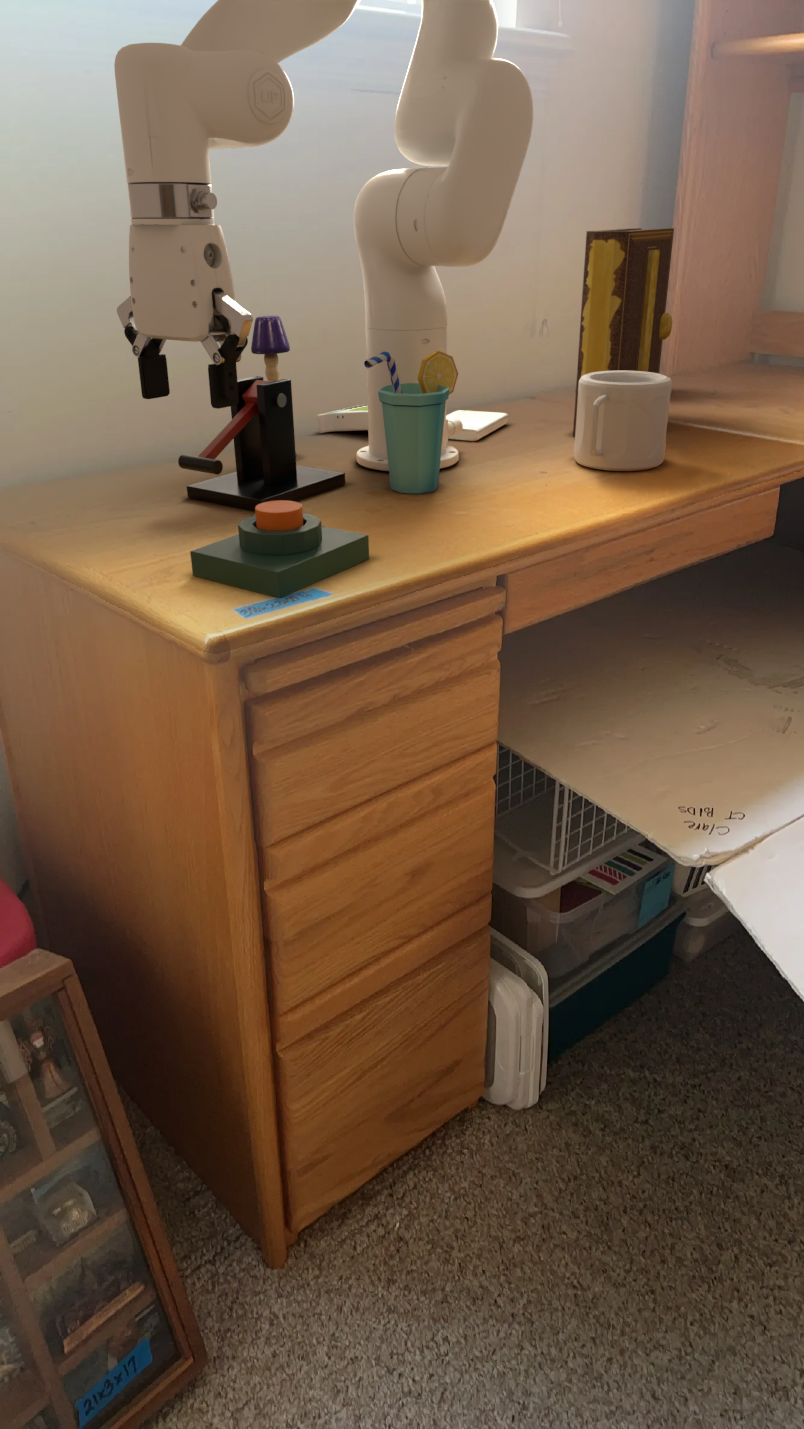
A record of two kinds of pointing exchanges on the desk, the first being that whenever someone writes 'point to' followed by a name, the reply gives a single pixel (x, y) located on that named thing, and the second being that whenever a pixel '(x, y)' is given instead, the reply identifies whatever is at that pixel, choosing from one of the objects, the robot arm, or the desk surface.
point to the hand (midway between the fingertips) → (190, 401)
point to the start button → (279, 515)
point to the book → (624, 301)
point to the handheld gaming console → (344, 420)
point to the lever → (223, 436)
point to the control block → (279, 556)
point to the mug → (622, 420)
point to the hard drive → (477, 423)
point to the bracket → (266, 456)
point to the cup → (416, 421)
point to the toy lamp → (269, 343)
